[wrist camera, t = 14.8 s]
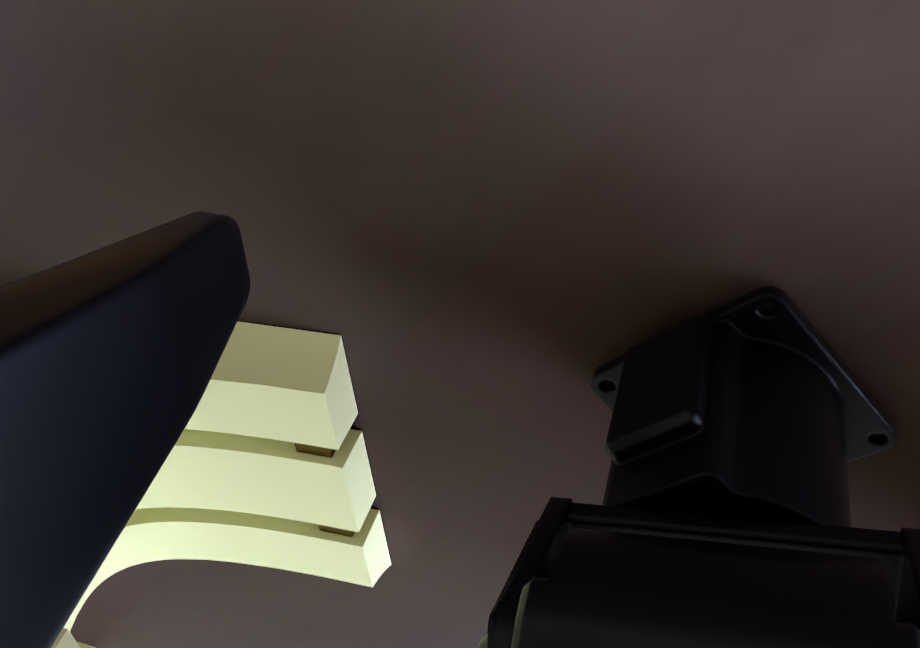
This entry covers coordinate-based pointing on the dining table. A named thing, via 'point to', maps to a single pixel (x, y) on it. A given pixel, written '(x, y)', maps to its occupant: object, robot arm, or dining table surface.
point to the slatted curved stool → (263, 470)
